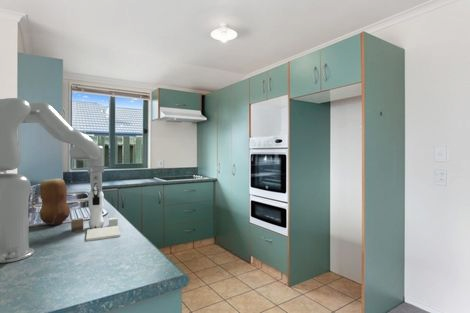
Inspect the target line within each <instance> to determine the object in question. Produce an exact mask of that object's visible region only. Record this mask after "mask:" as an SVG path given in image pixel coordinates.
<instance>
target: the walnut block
mask: <svg viewBox="0 0 470 313" xmlns="http://www.w3.org/2000/svg"><path fill="white" fill-rule="evenodd" d="M70 225H71V228H70V230H71V233H75V232H83V231H84V218H77V219H72V220H71V224H70Z"/></svg>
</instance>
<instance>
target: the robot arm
mask: <svg viewBox="0 0 470 313" xmlns="http://www.w3.org/2000/svg"><path fill="white" fill-rule="evenodd" d="M21 124H39V126H41V127H42V128H43V129H44V130H45V132H47V133H48V134H50V135H49V136H51V137H52V138H53V139H55V140H57V141H60V142H63V143H66V144H70V145H73V146H72V147H71V148H70V149H69V156H70V157H71V158H72V159H73V160H76V161H86V163H87V164H86V166H87V167H86V169H87V174H89V178H90V182H89V183H90V191H92V192H93V197H92V202H93V205H99V204H100V197H99V191H102V192H103V174H102V173H104V172H105V167H104V166H105V164H104V161H105V160H104V158H105V157H104V153H105V152H104V146H102V145H98V144H97V143H96V142H95V141H94V140H93V139H92V138H91V137H90V136H88V135H87V134H86V133H84V132H83V131H80V130H79V129H76V127H73V126H71V125H70V124H69V123H68V121H67V120H66V119H64V118H63V116H62V115H60V113H59V112H58V111H57V110H56V109H55V108H54V107H53V106H52V105H51V104H49V103H47V102H40V101H39V102H28V101H27V100H26V99H23V98H20V97H10V98H9V97H7V98H0V264H5V263H11V262H17V261H22V260H24V259H27V258H29V257H31V256H32V255H33V254H34V253H35V249H34V248H32V247H30V237H29V236H30V235H29V234H30V231H29V229H30V228H29V227H30V226H29V202H30V201H29V199H30V195H31V191H32V185H31V182H30V179H29V178H28V177H26V176H25V175H23V174H19V173H9V172H8V173H7V171H13V170H15V169H18V168H19V167H20V166H21V164H22V154H21V149H20V143H19V139H18V138H19V137H18V129H19V127H20V125H21ZM94 183H95V187H94ZM94 190H95V191H94ZM97 190H98V191H97Z"/></svg>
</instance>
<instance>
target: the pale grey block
mask: <svg viewBox="0 0 470 313" xmlns="http://www.w3.org/2000/svg"><path fill="white" fill-rule="evenodd" d="M118 220H119V219H118V217H109V218H108V227H112V226H118V227H119V225H118V224H119V222H118Z"/></svg>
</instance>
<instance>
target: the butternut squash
mask: <svg viewBox="0 0 470 313" xmlns="http://www.w3.org/2000/svg"><path fill="white" fill-rule="evenodd" d="M39 184H40V185H39V190H40V191H39V192H40V193H39V195H40V200H41V207H40V210H39V218H40V220H41V221H42V222H43V223H44V224H47V225H50V226H53V225H54V226H57V225H58V226H59V225H61V224H63V222H65V221H66V219H68V218H69V217H70V211H71V210H70V207H69V204H68V202H67V194H68V190H67V186H66V182H65V180H64V179H62V178H52V179H43V180H41V182H40V183H39Z"/></svg>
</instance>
